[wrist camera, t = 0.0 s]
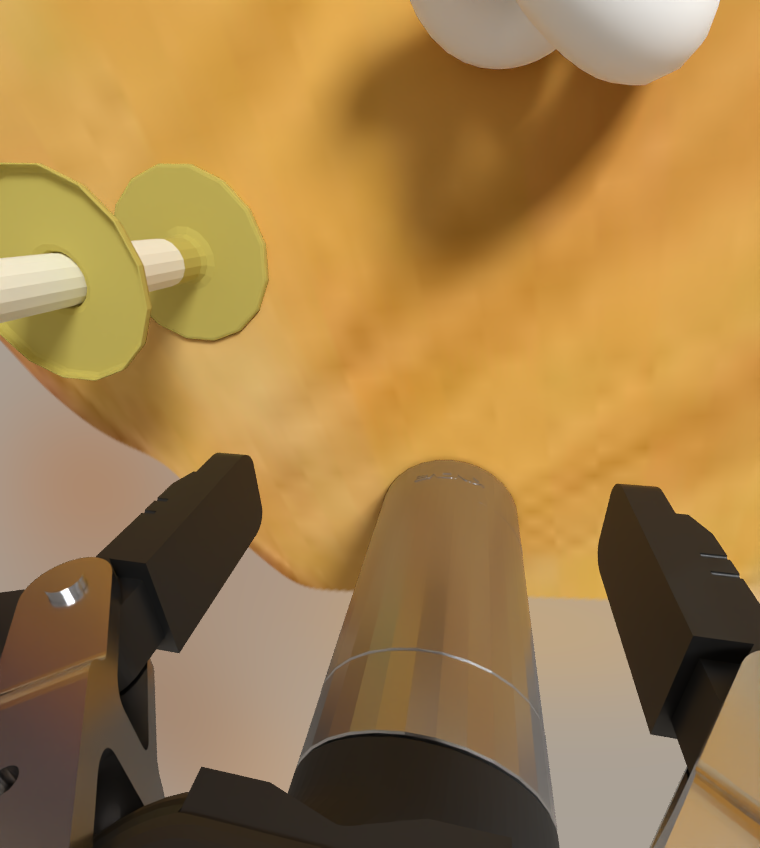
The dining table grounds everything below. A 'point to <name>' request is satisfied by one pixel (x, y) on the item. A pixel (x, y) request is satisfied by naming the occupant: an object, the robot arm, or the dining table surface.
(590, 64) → the white knot sculpture
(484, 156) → the dining table surface
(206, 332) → the candle
